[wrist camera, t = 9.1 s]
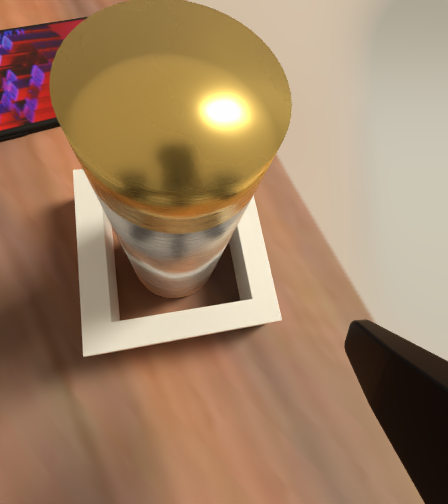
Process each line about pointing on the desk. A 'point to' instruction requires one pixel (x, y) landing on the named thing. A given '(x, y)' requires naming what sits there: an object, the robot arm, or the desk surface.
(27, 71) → the smartphone
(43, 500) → the desk surface
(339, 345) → the desk surface
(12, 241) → the desk surface
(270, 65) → the gold capped glass jar
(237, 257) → the socket
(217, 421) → the desk surface
